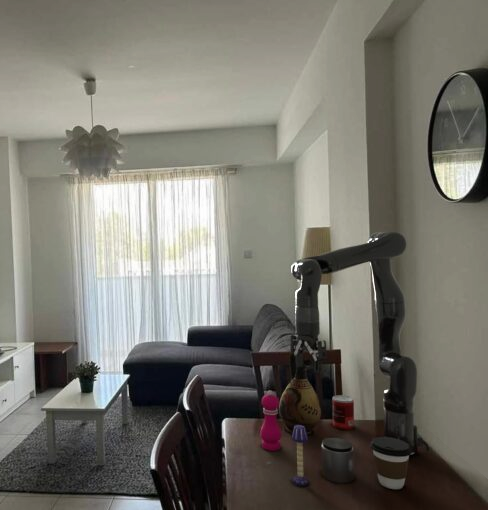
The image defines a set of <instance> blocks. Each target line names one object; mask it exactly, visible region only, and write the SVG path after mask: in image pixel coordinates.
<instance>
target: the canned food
mask: <svg viewBox="0 0 488 510" xmlns="http://www.w3.org/2000/svg"><path fill="white" fill-rule="evenodd" d="M332 424H333V426H334V427H335V428H337V429H339V430H352V429H354V426H355V401H354V398H353V397H351V396H348V395H342V394H341V395H340V394H337V395H333V396H332Z"/></svg>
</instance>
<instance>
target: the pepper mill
mask: <svg viewBox="0 0 488 510" xmlns="http://www.w3.org/2000/svg"><path fill="white" fill-rule="evenodd" d="M273 393H274V392H273V391H272V390H270V389H269V390H268V391H267V393H266V394H265V395H263V397H262V398H261V405H262V407H263V408H262V413H263V414H264V421H263V422H262V423H263V424H262V425H261V427H260V428H261V429H260V433H259V435H260V438H261V439H262V440H261V447H262V448H263V449H264V450H266V451H278V450H281V449H280V448H281V442H280V441H281V439H282V431H281V429H280V426H279V423H278V421H277V420H278V419H277V415H278V414H279V404H280V400H279V398H278V397H277V395H274V394H273Z"/></svg>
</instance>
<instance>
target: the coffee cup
mask: <svg viewBox="0 0 488 510" xmlns="http://www.w3.org/2000/svg"><path fill="white" fill-rule="evenodd" d="M369 446H370V448H371V449H372V455H373V461H374V467H375V471H376V473H377V478H378V482H379V484H380V485H381V486H383V487H385V488H387V489H390V490H391V489H392V490H400V489H403V487H404V485H405V481H406V477H407V474H408V470H409V469H408V468H409V462H410V456H409V455H410V454H411V453H412V450H411V448H410V446H409V444H407V443H406V442H404V441H402V440H399V439H395V438H391V437H383V436H378V437H374V438H373V439H371V442H370V443H369Z"/></svg>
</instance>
